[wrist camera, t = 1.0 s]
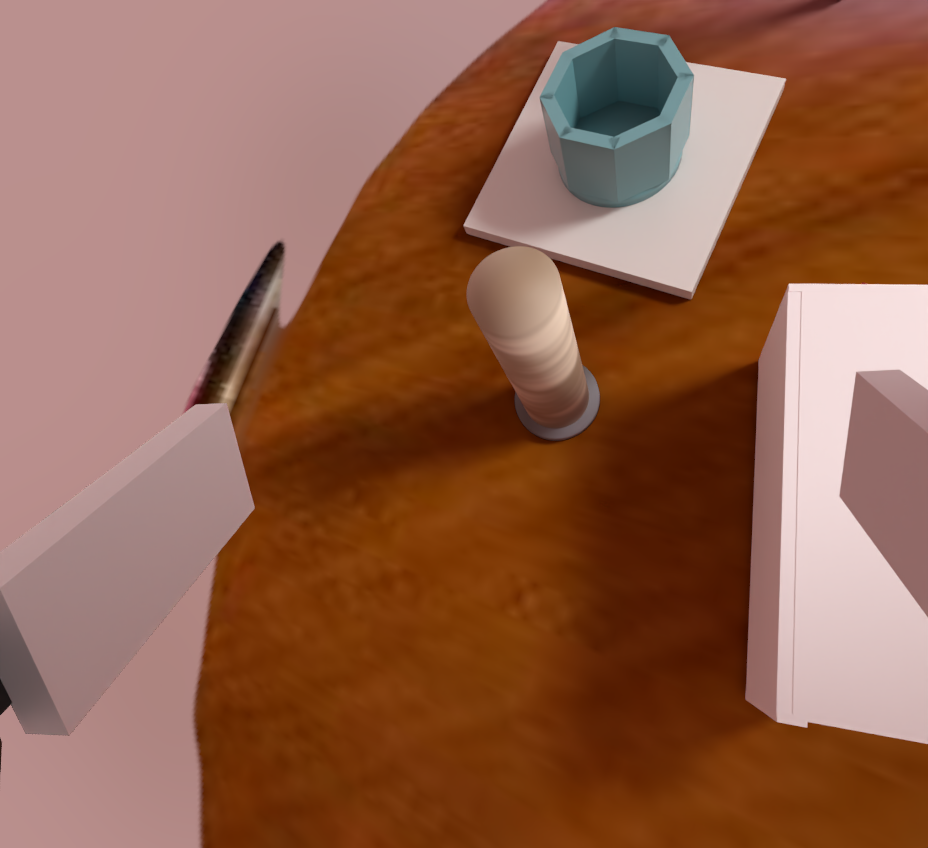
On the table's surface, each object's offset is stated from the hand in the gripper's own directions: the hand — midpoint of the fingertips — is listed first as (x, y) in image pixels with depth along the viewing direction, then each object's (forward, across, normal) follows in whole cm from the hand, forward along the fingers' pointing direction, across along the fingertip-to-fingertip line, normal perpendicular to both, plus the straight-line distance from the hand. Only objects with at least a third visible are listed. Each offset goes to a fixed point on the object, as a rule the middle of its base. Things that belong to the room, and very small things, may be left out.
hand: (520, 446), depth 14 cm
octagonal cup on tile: (+36, +5, +3) cm, 37 cm away
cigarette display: (+20, +13, -14) cm, 28 cm away
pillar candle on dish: (+26, 0, -10) cm, 28 cm away
